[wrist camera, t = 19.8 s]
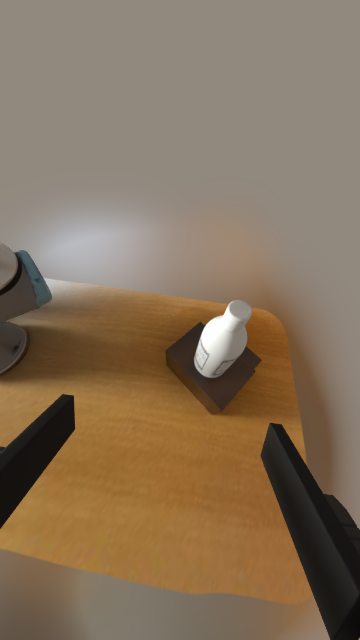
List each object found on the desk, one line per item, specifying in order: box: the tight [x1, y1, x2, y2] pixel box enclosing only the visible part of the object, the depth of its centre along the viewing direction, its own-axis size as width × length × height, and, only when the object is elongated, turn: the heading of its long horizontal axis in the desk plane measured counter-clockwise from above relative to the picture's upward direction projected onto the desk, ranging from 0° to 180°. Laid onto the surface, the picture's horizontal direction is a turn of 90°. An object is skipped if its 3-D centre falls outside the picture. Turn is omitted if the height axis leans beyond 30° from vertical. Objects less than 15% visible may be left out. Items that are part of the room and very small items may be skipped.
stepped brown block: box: [166, 322, 261, 414], centre depth 45 cm, size 16×17×10 cm
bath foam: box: [194, 300, 252, 378], centre depth 30 cm, size 7×7×20 cm
